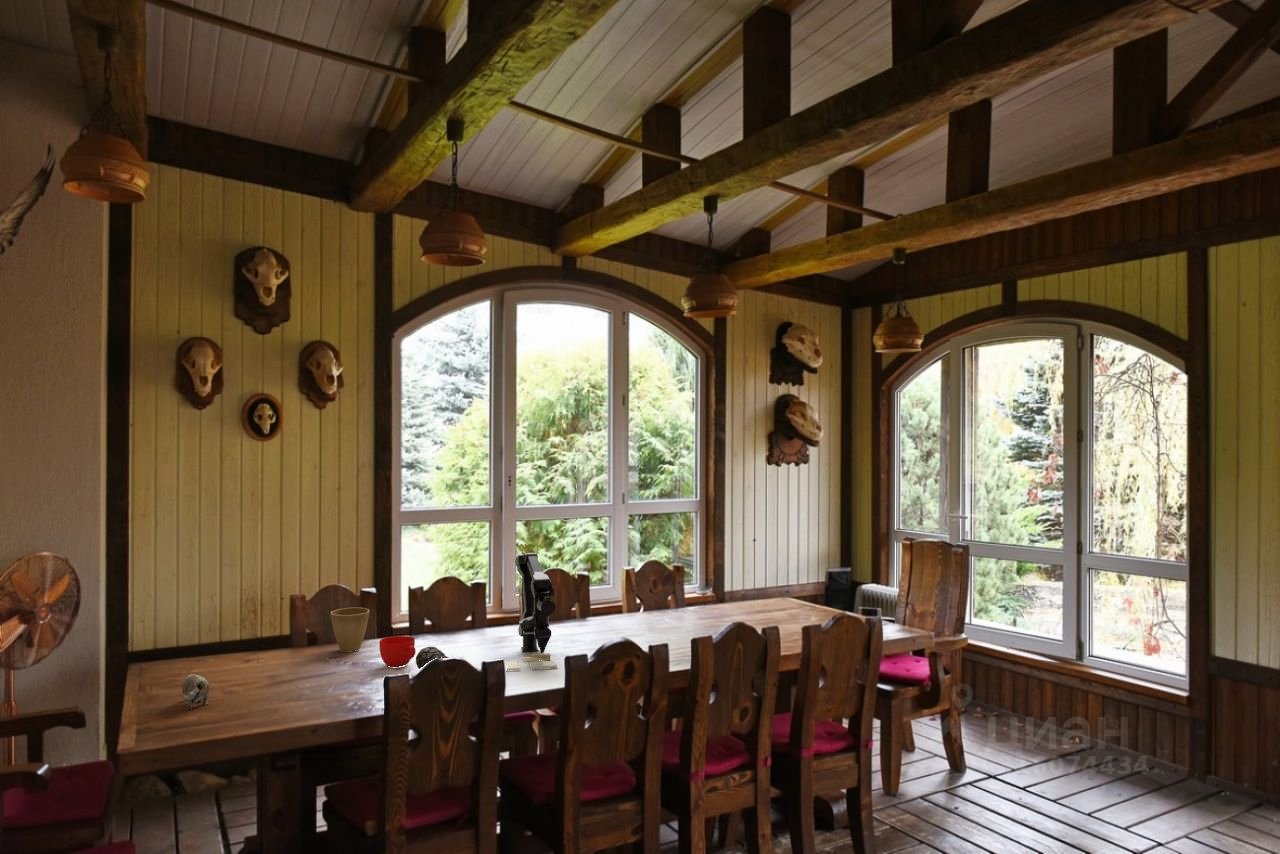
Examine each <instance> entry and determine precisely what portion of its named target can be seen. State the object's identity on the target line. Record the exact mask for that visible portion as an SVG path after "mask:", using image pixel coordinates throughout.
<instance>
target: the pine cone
mask: <svg viewBox="0 0 1280 854" xmlns="http://www.w3.org/2000/svg"><path fill="white" fill-rule="evenodd" d="M441 657H442V658H449V656H447V655H446V654H445V653H444V652H443V651H442V650H440V649H439V648H437V646H426V647H424V648H421V649H420V650H419V652H418V653H417V654H416V657H415V664H416V667H417V668H418V670H419V669H420V668H421V667H423V666H424V665H425V664H426V663H428V662H429V661H431V660H433V659H435V658H441Z"/></svg>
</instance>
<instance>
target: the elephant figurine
mask: <svg viewBox="0 0 1280 854" xmlns="http://www.w3.org/2000/svg"><path fill="white" fill-rule="evenodd" d="M210 689H211V686H210V683H209V682H208V680H207V679H206V678H205V677H203V676H201V675H198V674H195V673H194V674H193V673H190V674H188V675H186V677H184V678H183V680H182V681H181V691H182V694H183V696H182V697H183V702H184V701H185V703H188V707H187V709H191V708H192V706H193V704H195V703H202V705H204V706H207V704H208V705H209V703H208V696H209V692H210V691H211V690H210ZM198 701H199V702H198ZM202 701H203V702H202Z"/></svg>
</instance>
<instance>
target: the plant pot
mask: <svg viewBox="0 0 1280 854" xmlns="http://www.w3.org/2000/svg"><path fill="white" fill-rule="evenodd" d="M369 615H370V609H368V608H365V607H345V608H339V609H336V610H335V609H334V610H332V611H330V618H331V624H332V628H333V629H332V630H333V633H334V637H335V640H336V643H337V647H338V649H339V651H340V652H341V651H342V652H341V653H345V652H349V653H351V652H350V651H355V650H358V649H359V650H361V646H362V645H363V641H364V639H365V634H366V630H367V627H368V622H369V617H370V616H369ZM359 650H358V651H359Z"/></svg>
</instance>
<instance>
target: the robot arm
mask: <svg viewBox="0 0 1280 854" xmlns="http://www.w3.org/2000/svg"><path fill="white" fill-rule="evenodd" d="M538 557H539V556H538V553H536V552H526V553H524V554H518V555H517V557H515V559H514V560H515V561H514V562H515V566H516V571H517V572H518V573H519V576H521V582H522V583H521V584H522V585H521V587H522V595H523V607H524V608H523V610H524V611H523V614H522V616H521V618H520V620H519V621H518V623H519V625H518V629H517V631H518V635H519V636H520V637H522V646H521V647H520V648H521V651H522V652H525V653H526V652H539V654H540V653H545V650H546V649H547V645H548V643H549V641H550V638H551V637H552V630H551V629H550V628H549V627H550V624H549V617H550V615H552V614H554V613H555V611H556V604H555V602H554V600H551V598H553V597H555V589H554V585H553V583H552V580H551V579H550V577H549V575H548V574H546V573H544V572H543V568H542V566H541V564H540V562H539V558H538Z"/></svg>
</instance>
